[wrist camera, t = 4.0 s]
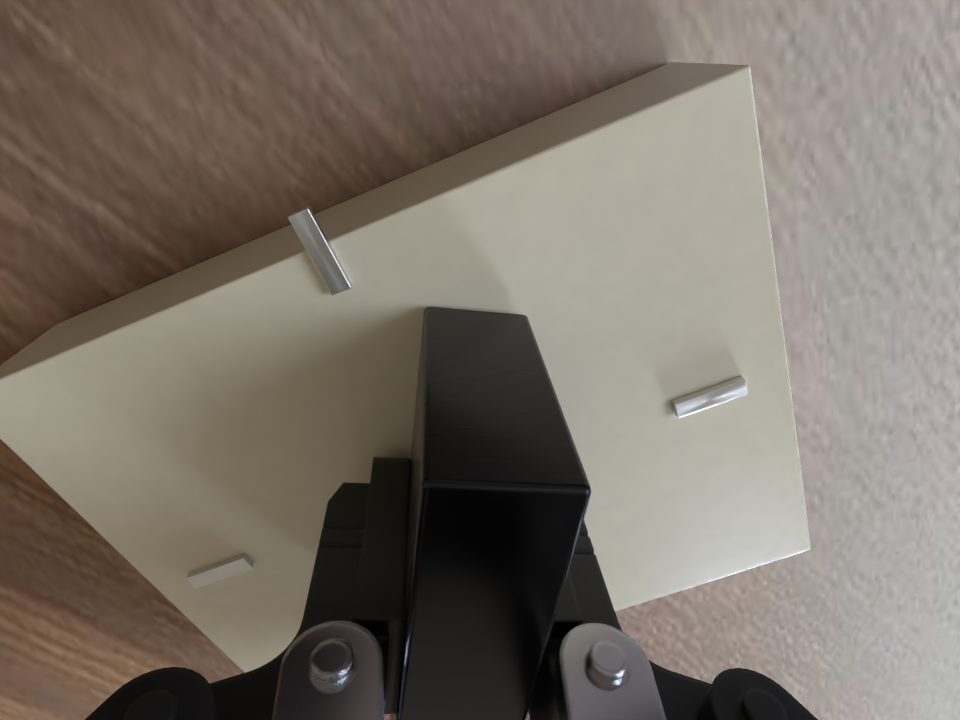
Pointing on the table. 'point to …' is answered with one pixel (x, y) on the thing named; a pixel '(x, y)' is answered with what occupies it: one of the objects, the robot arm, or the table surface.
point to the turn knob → (484, 519)
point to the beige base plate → (396, 352)
